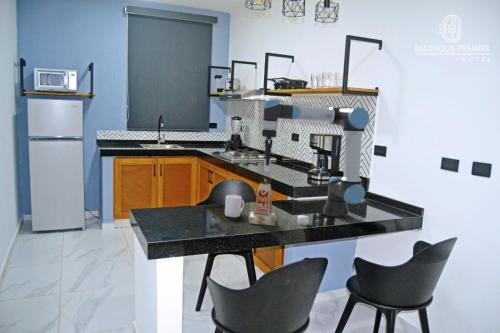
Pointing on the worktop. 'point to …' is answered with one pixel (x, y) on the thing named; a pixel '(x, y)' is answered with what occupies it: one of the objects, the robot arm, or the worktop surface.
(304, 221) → the white block
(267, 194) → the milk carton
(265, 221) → the podium
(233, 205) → the mug
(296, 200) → the worktop surface
